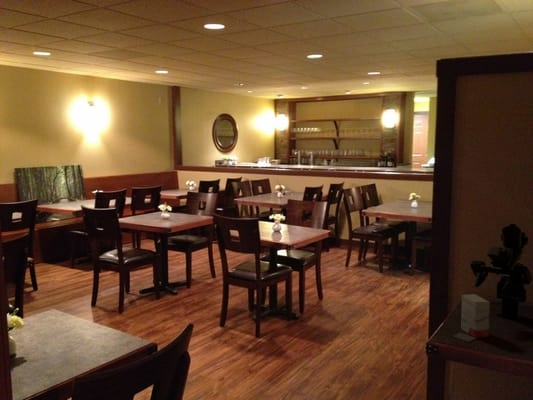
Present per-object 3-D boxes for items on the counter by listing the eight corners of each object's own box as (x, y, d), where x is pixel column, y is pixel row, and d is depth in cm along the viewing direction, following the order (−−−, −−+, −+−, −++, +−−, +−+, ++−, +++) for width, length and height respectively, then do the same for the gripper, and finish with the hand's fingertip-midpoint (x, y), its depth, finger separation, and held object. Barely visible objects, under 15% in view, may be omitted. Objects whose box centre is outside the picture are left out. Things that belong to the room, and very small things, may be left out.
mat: (460, 333, 150) (460, 332, 150) (476, 339, 145) (476, 338, 145) (452, 336, 147) (452, 335, 147) (468, 342, 143) (468, 341, 143)
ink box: (489, 338, 146) (491, 302, 145) (474, 339, 146) (476, 302, 144) (473, 327, 155) (475, 293, 154) (459, 328, 154) (461, 294, 153)
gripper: (475, 237, 164) (454, 266, 157) (530, 241, 149) (510, 274, 141) (485, 261, 168) (465, 291, 160) (539, 267, 153) (521, 300, 145)
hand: (489, 288), depth 152 cm, fingers open, 9 cm apart
